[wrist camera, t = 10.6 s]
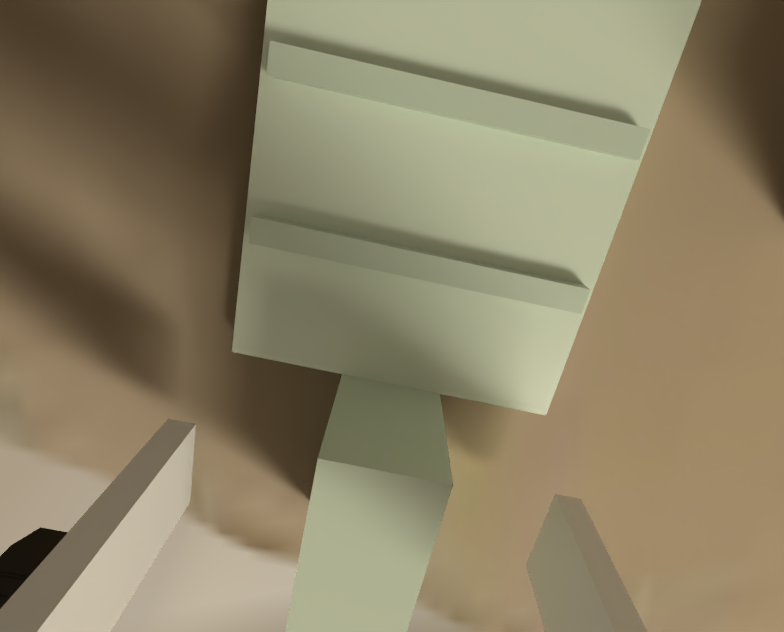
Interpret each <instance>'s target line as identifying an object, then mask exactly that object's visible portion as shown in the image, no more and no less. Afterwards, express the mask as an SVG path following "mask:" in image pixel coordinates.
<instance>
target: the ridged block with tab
mask: <svg viewBox="0 0 784 632" xmlns="http://www.w3.org/2000/svg"><path fill="white" fill-rule="evenodd" d="M701 1H702V0H268V1H267V11H266V20H265V30H264V40H263V50H262V60H261V70H260V80H259V89H258V99H257V109H256V119H255V129H254V139H253V149H252V158H251V168H250V178H249V188H248V198H247V208H246V218H245V227H244V237H243V247H242V257H241V267H240V277H239V287H238V296H237V306H236V316H235V326H234V336H233V346H232V352H235V353H240V354H245V355H250V356H255V357H260V358H265V359H269V360H274V361H279V362H284V363H289V364H294V365H299V366H304V367H309V368H314V369H319V370H324V371H329V372H334V373H339V374H342V376H341V379H340V383H339V386H338V390H337V393H336V397H335V400H334V404H333V407H332V411H331V414H330V417H329V421H328V424H327V428H326V431H325V435H324V438H323V442H322V445H321V449H320V452H319V456H318V459H317V465H316V470H315V475H314V481H313V486H312V492H311V497H310V502H309V508H308V513H307V518H306V524H305V529H304V534H303V540H302V545H301V550H300V556H299V561H298V566H297V572H296V577H295V583H294V588H293V593H292V599H291V604H290V609H289V614H288V620H287V626H286V630H285V632H407V629H408V626H409V623H410V619H411V616H412V613H413V610H414V607H415V604H416V601H417V597H418V594H419V591H420V588H421V585H422V581H423V578H424V575H425V572H426V569H427V566H428V562H429V559H430V556H431V553H432V550H433V547H434V543H435V540H436V537H437V534H438V531H439V527H440V524H441V521H442V518H443V515H444V512H445V508H446V505H447V502H448V499H449V496H450V493H451V489H452V486H453V481H452V474H451V467H450V460H449V453H448V446H447V439H446V432H445V425H444V418H443V411H442V404H441V397H440V394H442V395H447V396H452V397H457V398H462V399H467V400H472V401H477V402H482V403H487V404H492V405H497V406H502V407H507V408H512V409H517V410H522V411H527V412H531V413H536V414H541V415H546V414H547V411H548V408H549V406H550V403H551V401H552V398H553V395H554V393H555V390H556V387H557V385H558V382H559V379H560V377H561V374H562V371H563V369H564V366H565V363H566V361H567V358H568V355H569V353H570V350H571V347H572V345H573V342H574V339H575V337H576V334H577V331H578V329H579V326H580V323H581V321H582V318H583V315H584V313H585V310H586V307H587V305H588V302H589V299H590V297H591V294H592V291H593V289H594V286H595V283H596V281H597V278H598V275H599V273H600V270H601V267H602V265H603V262H604V259H605V257H606V254H607V251H608V249H609V246H610V244H611V241H612V238H613V236H614V233H615V230H616V228H617V225H618V222H619V220H620V217H621V214H622V212H623V209H624V206H625V204H626V201H627V198H628V196H629V193H630V190H631V188H632V185H633V182H634V180H635V177H636V174H637V172H638V169H639V166H640V164H641V161H642V158H643V156H644V153H645V150H646V148H647V145H648V142H649V140H650V137H651V134H652V132H653V129H654V126H655V124H656V121H657V118H658V116H659V113H660V110H661V108H662V105H663V102H664V100H665V97H666V94H667V92H668V89H669V87H670V84H671V81H672V79H673V76H674V73H675V71H676V68H677V65H678V63H679V60H680V57H681V55H682V52H683V49H684V47H685V44H686V41H687V39H688V36H689V33H690V31H691V28H692V25H693V23H694V20H695V17H696V15H697V12H698V9H699V7H700V4H701Z"/></svg>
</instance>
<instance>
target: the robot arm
mask: <svg viewBox="0 0 784 632" xmlns="http://www.w3.org/2000/svg"><path fill="white" fill-rule="evenodd" d="M195 429H196V424H192V423H187V422H182V421H177V420H172V419H168V420H167V421H166V422H165V423H164V424H163V425H162V426H161V428H160V429H159V430H158V431H157V432H156V433H155V434H154V436H153V437H152V438H151V439H150V440H149V441H148V442H147V443H146V445H145V446H144V447H143V448H142V449H141V450H140V451H139V453H138V454H137V455H136V456H135V457H134V458H133V459H132V460H131V462H130V463H129V464H128V465H127V466H126V467H125V468H124V470H123V471H122V472H121V473H120V474H119V475H118V476H117V477H116V479H115V480H114V481H113V482H112V483H111V484H110V485H109V486H108V488H107V489H106V490H105V491H104V492H103V493H102V494H101V496H100V497H99V498H98V499H97V500H96V501H95V502H94V504H93V505H92V506H91V507H90V508H89V509H88V510H87V512H86V513H85V514H84V515H83V516H82V517H81V518H80V519H79V520H78V522H77V523H76V524H75V525H74V526H73V528H71V530H70V531H69V532H68V533H67V532H62V531H56V530H51V529H45V528H39V529H38V530H36V531H34V532H32V533H31V534H29V535H28V536H26V537H24V538H23V539H21V540H19V541H18V542H16V543H14V544H13V545H11V546H10V547H9V548H8V549H7V550H6V551H5V552H4V553H3V554H2V555H1V556H0V632H111V630H112V628H113V627H114V625H115V624H116V622H117V620H118V619H119V617H120V615H121V614H122V612H123V610H124V609H125V607H126V606H127V604H128V602H129V601H130V599H131V597H132V596H133V594H134V592H135V591H136V589H137V588H138V586H139V584H140V583H141V581H142V579H143V578H144V576H145V575H146V573H147V571H148V570H149V568H150V566H151V565H152V563H153V562H154V560H155V558H156V557H157V555H158V553H159V552H160V550H161V548H162V547H163V545H164V544H165V542H166V540H167V539H168V537H169V535H170V534H171V532H172V530H173V529H174V527H175V526H176V524H177V522H178V521H179V519H180V517H181V516H182V514H183V513H184V511H185V509H186V508H187V506H188V504H189V503H190V496H191V483H192V469H193V456H194V442H195ZM526 566H527V570H528V573H529V577H530V580H531V584H532V587H533V590H534V594H535V597H536V601H537V604H538V608H539V611H540V615H541V618H542V622H543V625H544V628H545V632H647V630H646V628H645V626H644V624H643V622H642V620H641V618H640V616H639V614H638V612H637V610H636V608H635V606H634V604H633V602H632V600H631V598H630V596H629V594H628V592H627V590H626V588H625V586H624V584H623V582H622V580H621V578H620V576H619V574H618V572H617V570H616V568H615V566H614V564H613V562H612V560H611V558H610V556H609V554H608V552H607V550H606V548H605V546H604V544H603V542H602V540H601V538H600V536H599V534H598V532H597V530H596V528H595V526H594V524H593V522H592V520H591V518H590V516H589V514H588V512H587V510H586V508H585V506H584V504H583V502H582V500H581V499H578V498H573V497H568V496H563V495H557V494H555V496H554V499H553V501H552V503H551V506H550V508H549V511H548V513H547V515H546V518H545V520H544V523H543V525H542V527H541V530H540V532H539V535H538V537H537V539H536V542H535V544H534V547H533V549H532V551H531V554H530V556H529V559H528V561H527V563H526Z"/></svg>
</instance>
